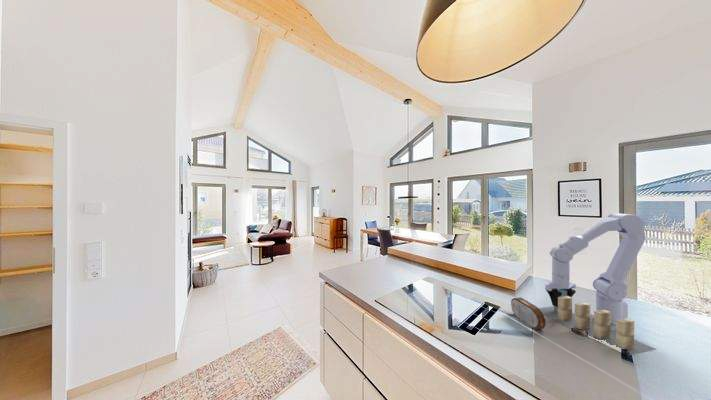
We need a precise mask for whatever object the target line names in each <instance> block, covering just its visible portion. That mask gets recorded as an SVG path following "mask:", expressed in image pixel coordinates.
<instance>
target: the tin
mask: <svg viewBox="0 0 711 400" xmlns="http://www.w3.org/2000/svg"><path fill="white" fill-rule="evenodd" d="M510 303H511V304H510V306H511V310H512V313H513V314H514V316H515V317H516V318H518V319H520V320H521V321H522V322H524V323H525V324H527V325H528V326H530V327H531V328H532V329H534V330H544V329H545V327H546V324H547V322H546V318H545V317H546V316H544V315H543V313H542V312H541V310H540V309H539V308H540V307H538V306H536V305H535V304H533V303H531V302H529V301H528V300H526V299H524V298H523V297H520V296H519V297H514V298H512V299H511V301H510Z"/></svg>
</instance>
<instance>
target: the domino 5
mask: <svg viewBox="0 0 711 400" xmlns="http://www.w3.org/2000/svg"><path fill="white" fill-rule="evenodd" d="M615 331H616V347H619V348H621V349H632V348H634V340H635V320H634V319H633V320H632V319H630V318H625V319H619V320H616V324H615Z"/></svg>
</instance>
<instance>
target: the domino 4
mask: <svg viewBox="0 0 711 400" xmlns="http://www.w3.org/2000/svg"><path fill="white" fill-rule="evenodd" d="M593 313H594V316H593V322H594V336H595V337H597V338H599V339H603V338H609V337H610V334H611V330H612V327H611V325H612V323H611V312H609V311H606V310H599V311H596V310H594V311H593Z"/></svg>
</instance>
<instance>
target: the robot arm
mask: <svg viewBox="0 0 711 400" xmlns="http://www.w3.org/2000/svg"><path fill="white" fill-rule="evenodd" d="M646 225H647V224H646V222H645V221H644V219H642V218H641V217H640V216H639V215H637V214H634V213H633V214H632V213H631V214H629V213H620V212H614V213H610V214H609V215H607V216H606V217H603V218H602V219H601V220H600V221H599V222H598V223H596V224H595V225H594V226H592V227H590V229H588V230H586V231H585V232H584V233H582V234H581V235H573V236H572V235H570V236H569V237H568V239H567V241H566V240H565V241H564V242H563V243H559V244H558V246H554V247H552V248H551V250H550V251H549V255H550V256H551V258H552V263H551V266H552V267H551V281H549V283H548V284H545V285H544V286H545V287H544V289H545V291H546V292H547V294H548V295H549V299H550V300H551V305H552V306H556V307H558V297H561V295H562V294H563V293H561V292H558V290H560V289H564V290H566V291H567V296H569V297H571V298H572V299H573V296H574V295H575V294H576V290H575V289H576V286H577V285H576V283H574V282H570V275H571V274H570V271H571V270H570V266H571V265H570V261H572V260H573V258H574V256H575V255H576V254H578V253H580V252H581V251H583V250H585V249H586V248H588V247H589V242H591V241H593V240H595V239H597V238H598V237H601V236H602V235H604V234H605V233H608V232H612V231H613V232H615V231H617V232H618V234H619V235H620V236H621V237H622V239H621V241H620V243H619V245H618V247H617V249H616V250H615V253H614V255H613V257H612V259H611V261H610V263H609V265H608V267H607V269H606V270H605V272H603V273H600V274H599V276H598V277H597V278H595V279H594V280H593V281H592V287H593V289H594V290H595V291H596V293H595V311H599V310H606V311H609V312H611V325H612V324H613V325H616V320H619V319H625V318H628V313H629V312H628V311H629V310H628V309H629V308H628V307H629V305H628V302H627V301H626V300H625V299H626V297H627V288H628V283H627V281H626V278H627V276H628V274H629V271H630V270H631V268H632V266H633V264H634V263H635V260H636V258H637V256H638V255H639V253H640V251H641V249H642V247H643V245H644V243H645V242H646V233H645V226H646ZM590 316H593V317H594V312H592V313H591V312H590ZM628 319H629V318H628Z"/></svg>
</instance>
